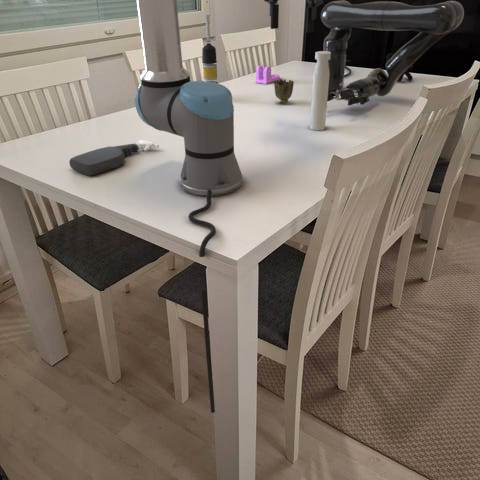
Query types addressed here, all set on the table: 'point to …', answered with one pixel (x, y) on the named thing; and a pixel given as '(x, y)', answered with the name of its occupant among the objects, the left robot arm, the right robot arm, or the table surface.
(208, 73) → the yellow black flask
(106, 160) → the spray bottle
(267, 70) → the bracket
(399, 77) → the squiggle
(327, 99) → the right robot arm
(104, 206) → the table surface
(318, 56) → the cap
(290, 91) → the cup
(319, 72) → the bottle
